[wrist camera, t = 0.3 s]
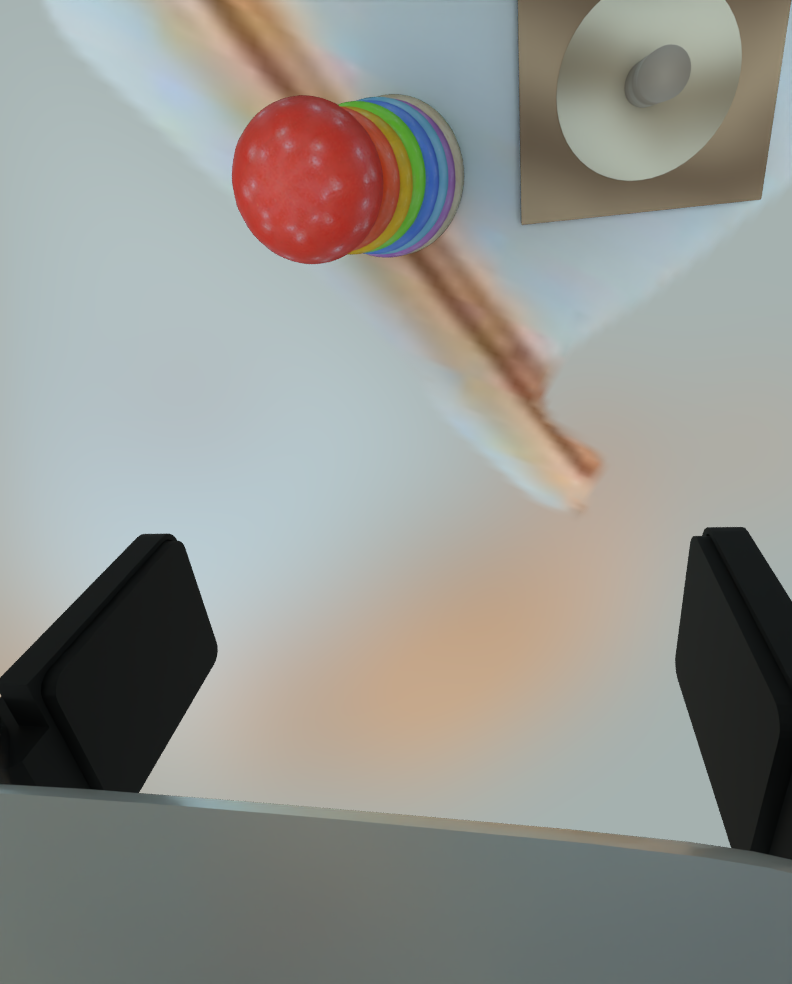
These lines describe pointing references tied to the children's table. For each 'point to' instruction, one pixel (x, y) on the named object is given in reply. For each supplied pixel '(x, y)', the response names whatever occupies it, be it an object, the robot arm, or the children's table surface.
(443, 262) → the children's table surface
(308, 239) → the stacking toy
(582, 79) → the gear board
